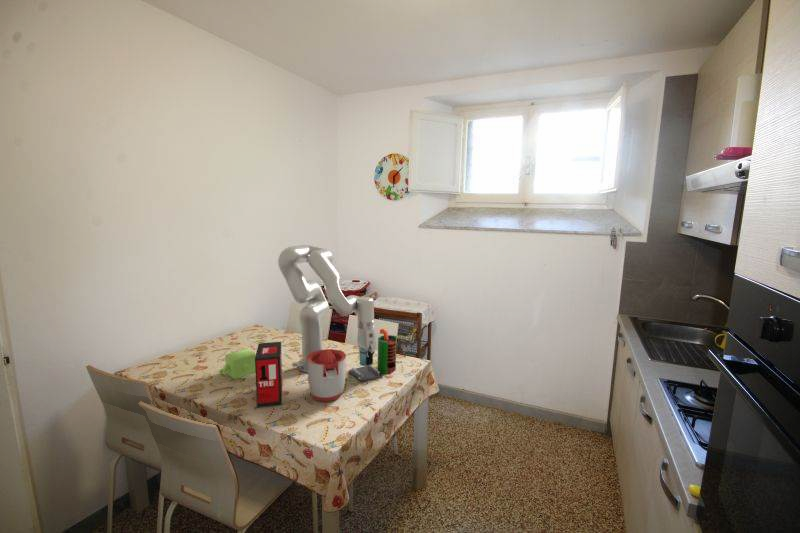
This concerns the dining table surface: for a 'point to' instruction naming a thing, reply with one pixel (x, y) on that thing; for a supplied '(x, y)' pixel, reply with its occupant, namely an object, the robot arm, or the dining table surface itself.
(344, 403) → the dining table surface
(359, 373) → the mount plate
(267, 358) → the cleaning product box
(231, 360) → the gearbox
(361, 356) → the blue lidded jar
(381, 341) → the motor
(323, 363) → the citrus juicer
